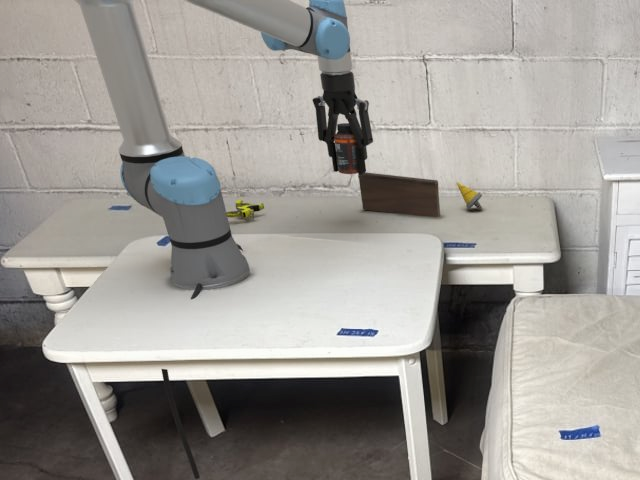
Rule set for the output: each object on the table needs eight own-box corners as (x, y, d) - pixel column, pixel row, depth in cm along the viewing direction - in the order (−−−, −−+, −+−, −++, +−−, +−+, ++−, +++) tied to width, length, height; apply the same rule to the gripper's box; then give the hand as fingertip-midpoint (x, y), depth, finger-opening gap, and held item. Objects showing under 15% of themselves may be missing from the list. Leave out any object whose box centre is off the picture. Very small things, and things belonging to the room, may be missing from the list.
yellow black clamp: (237, 196, 194) (264, 197, 194) (240, 211, 196) (266, 211, 196) (220, 208, 184) (248, 209, 184) (223, 223, 186) (251, 224, 186)
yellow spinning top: (476, 214, 195) (449, 187, 193) (475, 218, 200) (449, 191, 199) (490, 201, 195) (463, 173, 194) (488, 204, 201) (463, 177, 199)
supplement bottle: (365, 170, 184) (361, 123, 178) (358, 175, 179) (354, 126, 173) (342, 169, 184) (337, 121, 179) (334, 174, 179) (329, 125, 173)
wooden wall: (437, 218, 193) (435, 181, 187) (362, 209, 197) (357, 173, 192) (440, 216, 194) (438, 179, 188) (366, 207, 199) (361, 170, 193)
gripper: (381, 71, 169) (391, 170, 182) (308, 65, 173) (323, 163, 186) (366, 77, 163) (378, 180, 176) (291, 71, 167) (308, 172, 180)
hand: (350, 171), depth 181 cm, fingers closed on supplement bottle, 6 cm apart
